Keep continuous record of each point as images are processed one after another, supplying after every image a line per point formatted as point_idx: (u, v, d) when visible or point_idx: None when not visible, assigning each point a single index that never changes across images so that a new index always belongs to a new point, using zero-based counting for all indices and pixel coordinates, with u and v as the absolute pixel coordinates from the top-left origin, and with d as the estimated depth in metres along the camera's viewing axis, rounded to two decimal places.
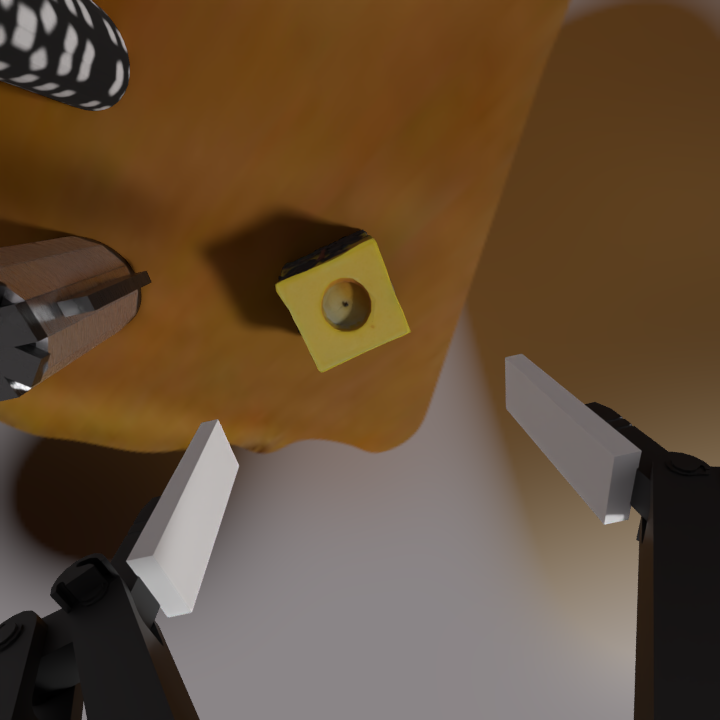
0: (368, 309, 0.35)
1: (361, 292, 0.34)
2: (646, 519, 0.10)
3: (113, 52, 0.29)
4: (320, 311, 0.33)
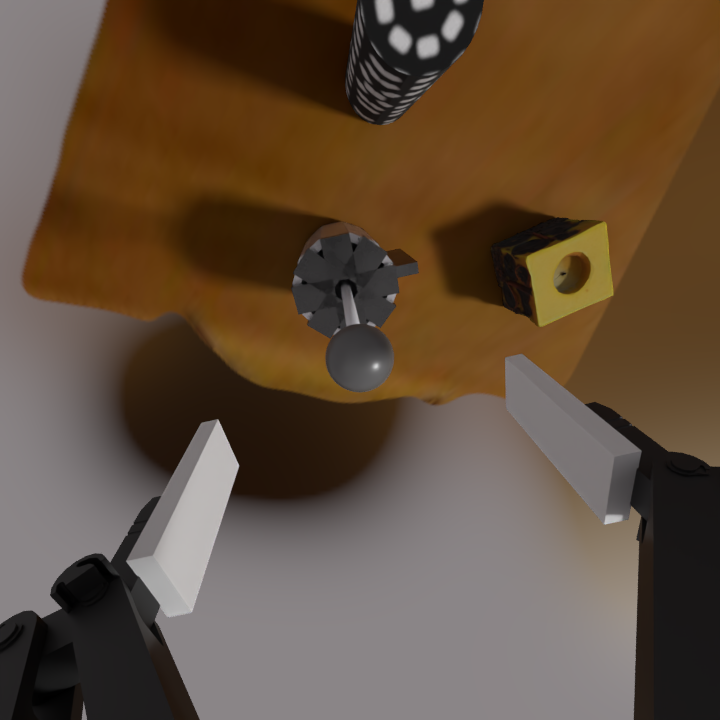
0: (580, 277, 0.45)
1: (577, 264, 0.45)
2: (646, 519, 0.10)
3: None
4: (552, 278, 0.43)
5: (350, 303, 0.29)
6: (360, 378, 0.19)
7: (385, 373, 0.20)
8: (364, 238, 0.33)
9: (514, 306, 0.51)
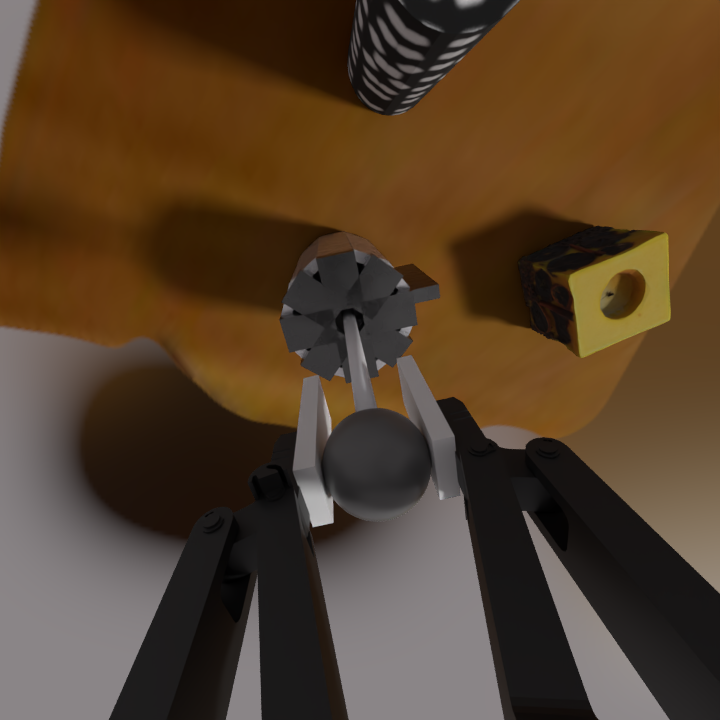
0: (630, 299, 0.37)
1: (626, 282, 0.37)
2: (467, 500, 0.12)
3: None
4: (599, 300, 0.36)
5: (357, 348, 0.22)
6: (380, 511, 0.12)
7: (420, 496, 0.12)
8: (373, 257, 0.26)
9: (546, 330, 0.43)
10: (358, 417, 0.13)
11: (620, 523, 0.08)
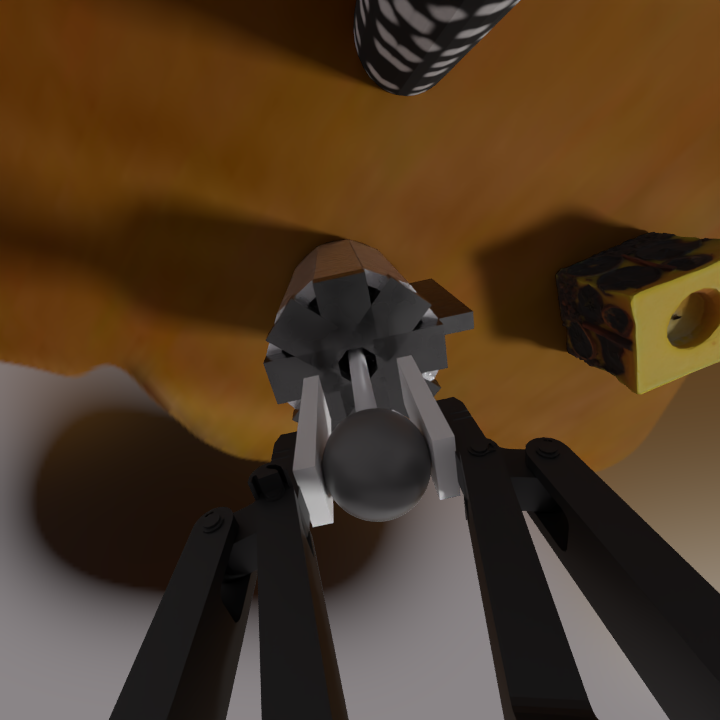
0: (700, 323, 0.30)
1: (697, 303, 0.30)
2: (467, 500, 0.12)
3: None
4: (666, 326, 0.29)
5: (357, 348, 0.22)
6: (380, 511, 0.12)
7: (420, 495, 0.12)
8: (392, 280, 0.19)
9: (589, 356, 0.36)
10: (358, 417, 0.13)
11: (620, 523, 0.08)
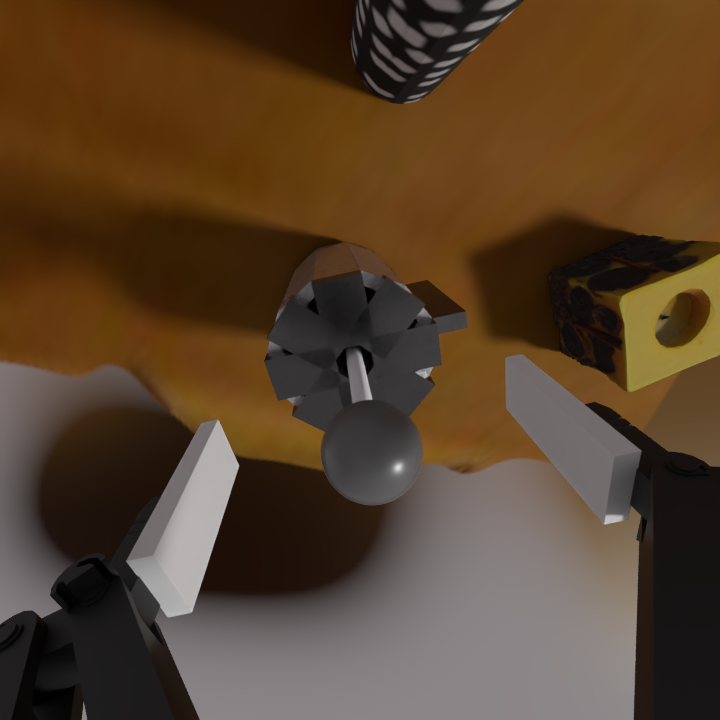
0: (687, 322, 0.31)
1: (684, 303, 0.31)
2: (646, 519, 0.10)
3: None
4: (654, 325, 0.29)
5: (354, 346, 0.23)
6: (374, 494, 0.12)
7: (413, 480, 0.13)
8: (387, 281, 0.20)
9: (581, 356, 0.37)
10: (354, 407, 0.13)
11: None
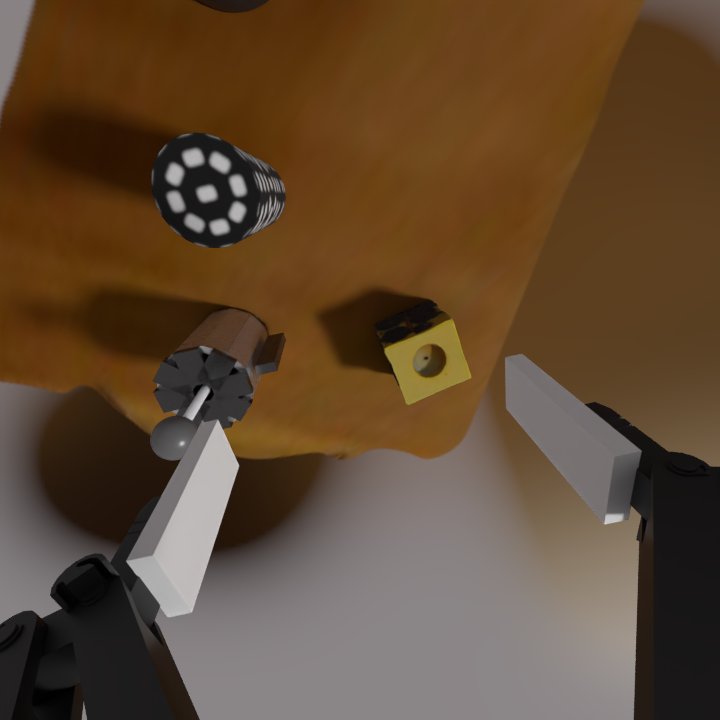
0: (442, 361, 0.50)
1: (437, 350, 0.49)
2: (646, 519, 0.10)
3: (283, 199, 0.45)
4: (412, 365, 0.48)
5: None
6: (166, 454, 0.31)
7: (186, 449, 0.32)
8: (212, 352, 0.38)
9: (396, 379, 0.56)
10: (164, 419, 0.32)
11: None
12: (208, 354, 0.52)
